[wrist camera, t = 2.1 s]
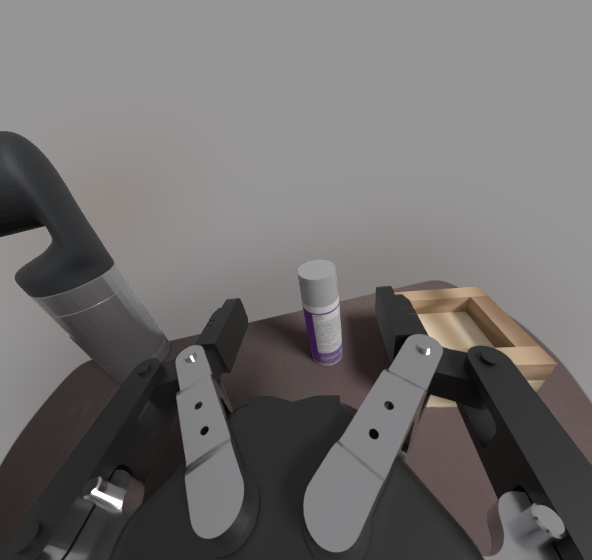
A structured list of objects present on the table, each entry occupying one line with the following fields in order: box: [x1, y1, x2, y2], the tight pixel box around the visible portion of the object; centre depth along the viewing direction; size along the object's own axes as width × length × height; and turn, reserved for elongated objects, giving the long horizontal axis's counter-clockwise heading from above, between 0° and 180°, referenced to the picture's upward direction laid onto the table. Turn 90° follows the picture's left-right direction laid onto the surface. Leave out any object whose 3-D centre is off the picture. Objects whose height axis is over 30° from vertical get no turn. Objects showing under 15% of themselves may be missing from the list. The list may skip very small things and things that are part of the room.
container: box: [298, 260, 343, 366], centre depth 30 cm, size 5×5×15 cm
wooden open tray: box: [395, 287, 557, 407], centre depth 28 cm, size 12×12×8 cm
